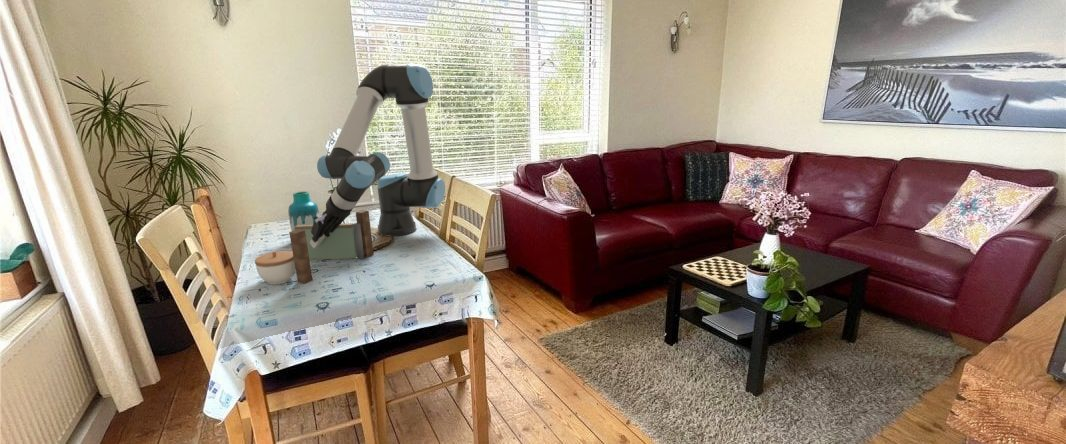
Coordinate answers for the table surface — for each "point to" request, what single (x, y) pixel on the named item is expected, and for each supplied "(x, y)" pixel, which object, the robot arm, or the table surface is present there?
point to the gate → (336, 242)
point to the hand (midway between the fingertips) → (313, 245)
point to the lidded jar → (276, 266)
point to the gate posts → (302, 249)
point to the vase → (302, 210)
